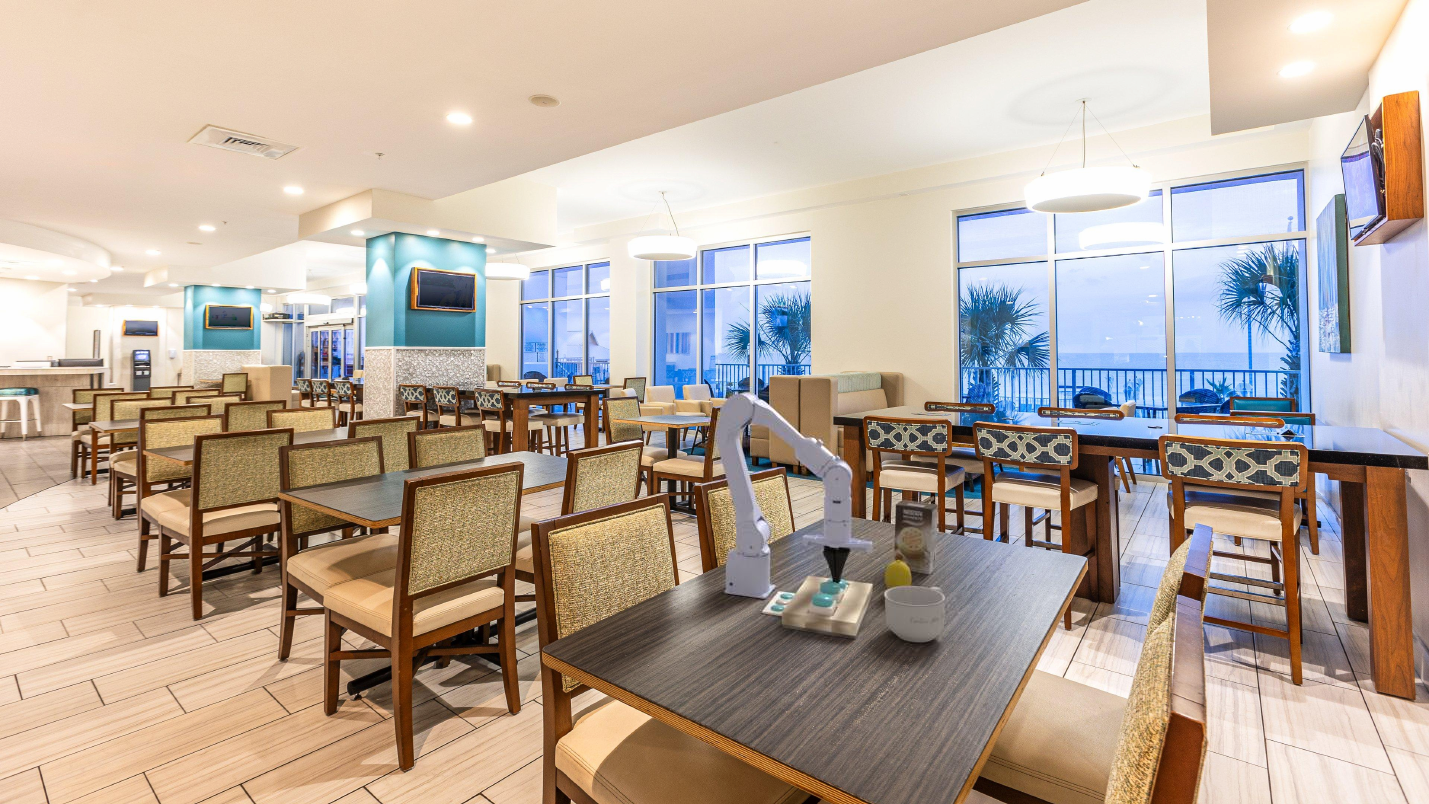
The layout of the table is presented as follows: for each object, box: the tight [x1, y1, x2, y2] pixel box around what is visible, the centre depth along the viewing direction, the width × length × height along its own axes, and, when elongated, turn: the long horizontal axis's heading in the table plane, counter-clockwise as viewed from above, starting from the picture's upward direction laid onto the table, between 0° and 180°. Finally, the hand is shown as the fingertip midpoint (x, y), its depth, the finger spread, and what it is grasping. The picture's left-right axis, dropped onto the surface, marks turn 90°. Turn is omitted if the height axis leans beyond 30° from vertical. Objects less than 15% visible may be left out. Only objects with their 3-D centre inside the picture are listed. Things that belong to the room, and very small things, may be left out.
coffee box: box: [893, 499, 939, 575], centre depth 155 cm, size 9×6×16 cm
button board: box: [781, 575, 874, 640], centre depth 128 cm, size 14×22×3 cm, turn 158°
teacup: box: [883, 585, 946, 643], centre depth 118 cm, size 14×11×8 cm
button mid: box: [817, 582, 843, 603], centre depth 128 cm, size 4×4×3 cm
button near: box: [809, 593, 836, 616], centre depth 122 cm, size 4×4×3 cm
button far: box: [827, 577, 849, 591], centre depth 135 cm, size 4×4×3 cm
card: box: [762, 591, 796, 617], centre depth 132 cm, size 5×12×1 cm, turn 158°
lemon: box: [884, 560, 912, 590], centre depth 137 cm, size 6×6×8 cm
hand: (836, 581), depth 135 cm, fingers closed, pressing on button far
